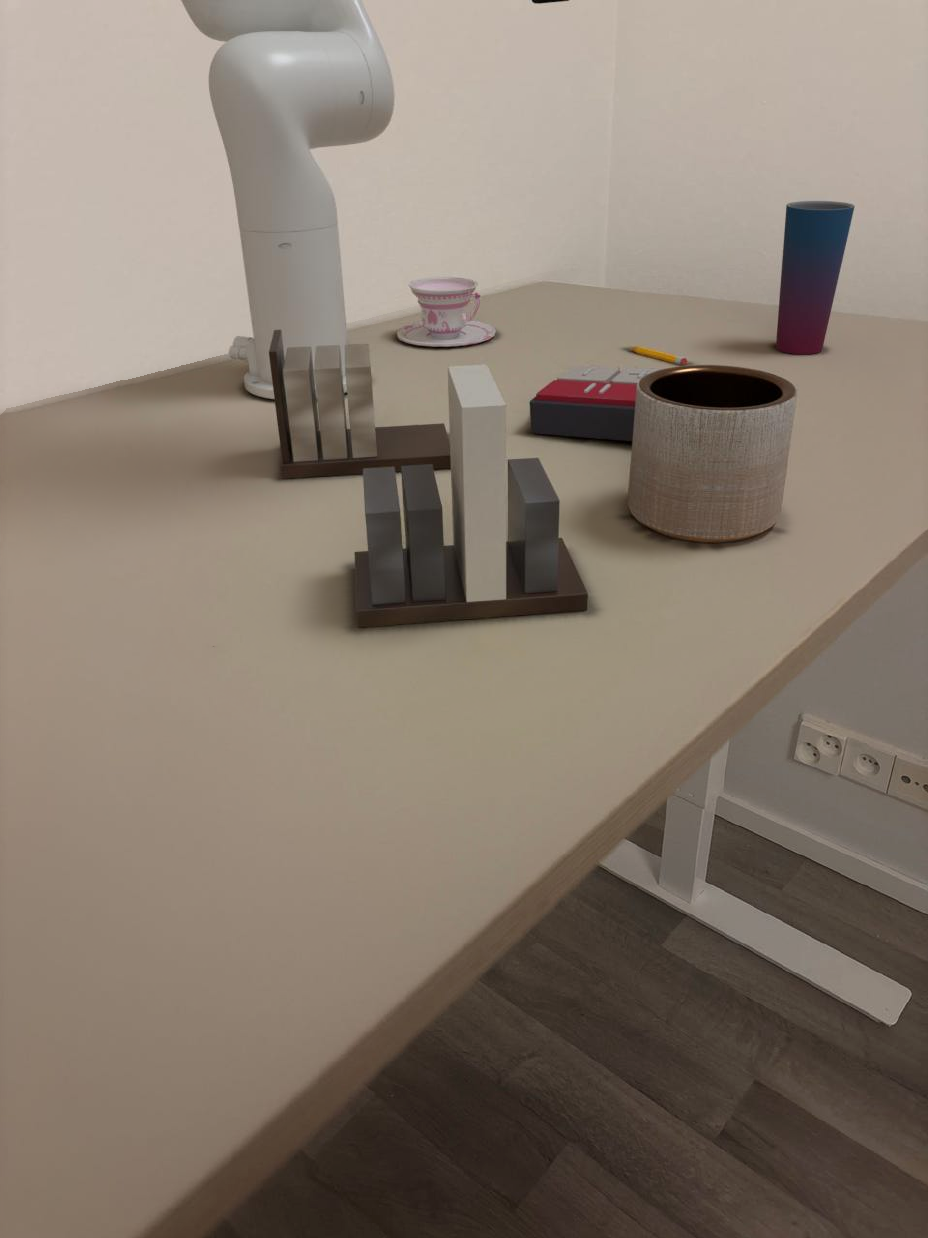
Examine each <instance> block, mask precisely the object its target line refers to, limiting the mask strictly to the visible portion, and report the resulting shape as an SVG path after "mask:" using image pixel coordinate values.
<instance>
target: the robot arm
mask: <svg viewBox="0 0 928 1238" xmlns="http://www.w3.org/2000/svg"><path fill="white" fill-rule="evenodd" d="M180 1H181V3H182V6H183V7H184V9H185V11H186V14H188V16H189V18H190V20H191V21H192V23H193V25H194V26H195V27H196V28H197V29H198V30H199V32H200V33H202V34H203V35H204V36H205V37H207V38H209V39H211V40H214V41H218V42H224V43H223V44H222V45H221V46H220V47H218V49H217V50H216V52H215V53H214V55H213V58H212V59H211V62H210V66H209V71H208V92H209V97H210V102H211V106H212V110H213V113H214V118H215V120H216V124H217V127H218V130H219V133H220V137H221V140H222V143H223V147H224V150H225V154H226V155H225V156H226V159H227V162H228V166H229V172H230V177H231V182H232V189H233V196H234V202H235V208H236V216H237V224H238V228H239V236H240V237H239V238H240V243H241V245H240V246H241V252H242V261H243V267H244V275H245V282H246V288H247V298H248V306H249V313H250V321H251V328H252V335H253V336H252V337H250V336H243V335H242V336H241V335H237V336H235V337H234V338H233V341H232V345H230V346H229V349H228V356H229V357H230V358H231V359H234V360H241V361H242V360H243V361H244V360H246V361H247V362H248V369H249V370H248V371H247V372H245V374H244V376H243V382H244V388H245V390H246V391H247V392H248V393H250V394H251V395H254V396H256V397H259V398H263V399H268V400H275V399H274V391H273V383H272V375H271V367H270V359H269V349H270V345H271V341H272V337H273V333H274V330H281V331H282V340H283V348H284V357H286V352H287V348H290V347H309V346H311V350H312V360H313V369H314V364H315V353H316V346H330V345H340V352H341V363H342V375H343V386H344V394H347V385H346V374H345V345H349V341H348V329H347V328H348V327H347V316H346V305H345V293H344V291H345V290H344V281H343V280H344V279H343V269H342V256H341V245H340V232H339V222H338V221H339V220H338V219H339V218H338V209H337V201H336V198H335V194H334V191H333V189H332V188H333V187H332V186H331V184H330V182H329V180H328V178H327V177H326V175H325V174H324V171H323V170H322V169H321V167H320V165H319V164H318V162H317V161H316V159H315V158H314V156H313V154H312V151H311V150H313V149H319V148H327V147H328V148H329V147H341V146H350V145H357V144H362V143H366V142H370V141H373V140H374V139H376V138H378V137H379V136H380V135H382V134H383V133H384V132H385V131H386V129H387V127H388V126H389V124H390V122H391V120H392V118H393V114H394V108H395V85H394V79H393V73H392V71H391V67H390V64H389V61H388V58H387V55H386V53H385V50H384V48H383V46H382V43H381V41H380V38H379V37H378V34H377V32H376V29H375V27H374V25H373V23H372V20H371V18H370V16H369V14H368V12H367V10H366V7H365V5H364V3H363V1H362V0H180ZM569 1H570V0H531V2H532V3H533V4H537V5H538V4H539V5H540V4H551V3H563V2H569ZM314 379H315V374H314ZM315 389H316V384H315ZM316 399H317V394H316Z"/></svg>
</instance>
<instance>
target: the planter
mask: <svg viewBox="0 0 928 1238" xmlns="http://www.w3.org/2000/svg"><path fill="white" fill-rule="evenodd" d="M661 369H662V370H658V371H655V372H652V373H650V374H647V375H645V376H644V377H642V378H641V379H640V380H639V381H638V383H637V388H636V402H635V416H634V429H633V441H631V454H630V463H629V464H630V467H629V477H628V478H629V479H628V487H627V488H628V490H627V506H628V510H629V512H630V514H631V515H632V516H633V517H634V518H635V519H636V520H637V521H638V522H639V523H641V524H642V525H644V526H645V527H647V528H648V529H650V530H652V531H654V532H656V533H658V534H661V535H663V536H667V537H670V538H673V539H678V540H683V541H689V542H697V543H719V544H720V543H727V542H728V543H729V542H736V541H743V540H746V539H749V538H752V537H755V536H758V535H760V534H762V533H764V532H766V531H768V530H769V529H771V528H772V527H773V526H775V525H776V523H777V522H778V520H779V518H780V515H781V512H782V507H783V501H784V493H785V485H786V478H787V470H788V461H789V456H790V455H789V454H790V449H791V448H790V447H791V441H792V433H793V425H794V421H795V420H794V419H795V412H796V406H797V399H798V389H797V387H796V386H795V385H794V384H793V383H792V382H790V381H789V380H788V379H786V378H784V377H781V376H779V375H776V374H774V373H770V372H768V371H763V370H759V369H754V368H749V367H742V366H734V365H722V364H693V365H692V364H691V365H678V366H673V367H667V368H661Z"/></svg>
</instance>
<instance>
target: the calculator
mask: <svg viewBox="0 0 928 1238" xmlns="http://www.w3.org/2000/svg"><path fill="white" fill-rule="evenodd" d="M662 369H663V368H647V367H646V368H645V367H625V368H623V369H622V370H621V369H620V367H619V366H606V365H605V366H604V365H586V364H583V365H582V364H573V365H571V366H570V367H569V368H568V369H566V370H565V371H563V372H562V373H561V374H559V375H558V376H557V377H556V379H553V380H552V381H551V382H549V383H548V384H546V385H545V386H544V387H543V388H542V389H540V390H539V391H538V392H537V393H536V394H535V396H534V397H533V398H532V399H530V401H529V424H530V425H529V426H530V433H532V434H535V435H536V434H537V435H548V436H560V437H575V438H586V439H599V440H612V441H624V442H632V441H633V429H634V416H635V402H636V388H637V383H638V381H639V380H640V379H641V378H642V377H644V376H645V375H647V374H650V373H652V372H655V371H658V370H662Z"/></svg>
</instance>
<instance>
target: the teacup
mask: <svg viewBox="0 0 928 1238" xmlns="http://www.w3.org/2000/svg"><path fill="white" fill-rule="evenodd" d="M478 286H479V283H478V282H477V281H476V280H474V279H469V278H463V277H451V276H450V277H449V276H442V277H441V276H438V277H437V276H436V277H425V278H418V279H415V280H411V281H410V282H409V283H408V287H409V288H410V291H411V293H412V294H413V295H414V297H416V298H417V303H418V305H419V306H420V309H421V321H419V322H414V323H410V324H407V325H404V326H403V327H401V328H399V329H398V330H397V333H396V337H397V338H398V340H399V341H401V342H404V343H406V344H411V345H415V346H420V347H421V346H423V347H433V348H434V347H436V348H437V347H449V348H450V347H460V346H469V345H475V344H479V343H482V342H485V341H489V340H490V339H492V338H493V337H494V336H495V335H496V328H495V327H494V326H493V325H491V324H488V323H486V322H483V321H476V320H473V318H474V317H475V316H476V314H477V313H478V310H479V308H480V303H481V302H480V298H481V294H480V293H478V292H475V291H476V288H477V287H478ZM471 299H472V300H473V301H474V306H473V308H472V311H471V313H470V314H469V315H468V317H467V308H468V305H469V303H470V301H471Z"/></svg>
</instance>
